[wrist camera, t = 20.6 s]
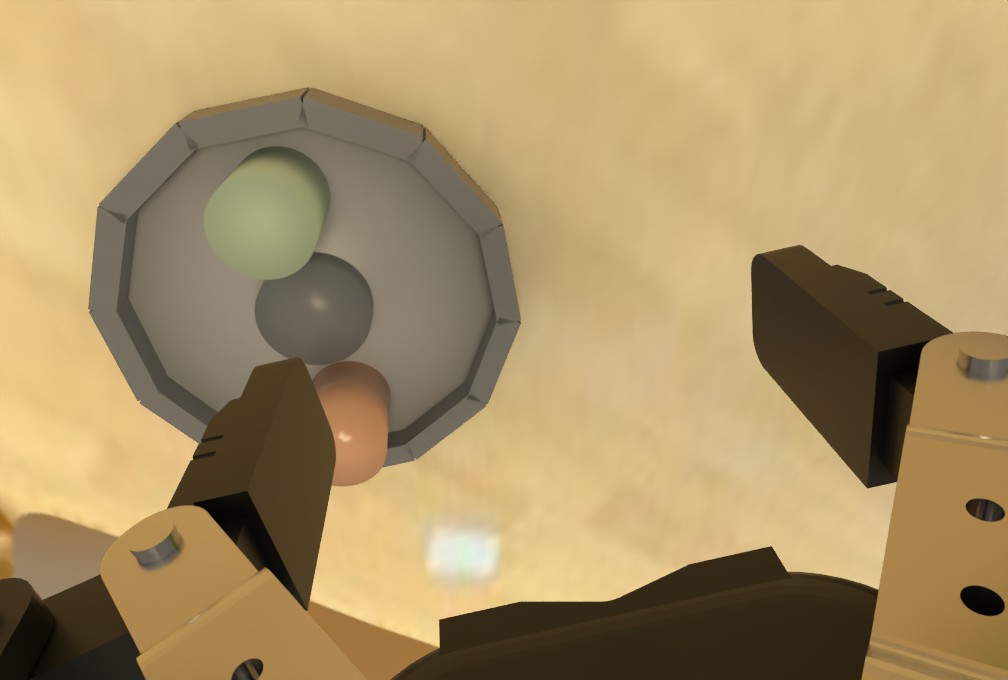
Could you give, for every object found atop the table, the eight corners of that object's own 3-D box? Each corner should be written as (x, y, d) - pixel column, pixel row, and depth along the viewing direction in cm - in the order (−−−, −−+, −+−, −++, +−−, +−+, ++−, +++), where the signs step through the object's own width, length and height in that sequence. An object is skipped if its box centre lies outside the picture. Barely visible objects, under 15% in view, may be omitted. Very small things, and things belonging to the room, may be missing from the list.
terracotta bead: (406, 398, 38) (405, 454, 34) (348, 440, 39) (339, 500, 35) (352, 346, 36) (342, 398, 32) (292, 392, 37) (275, 448, 33)
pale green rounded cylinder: (350, 200, 32) (339, 237, 28) (283, 255, 33) (262, 299, 29) (281, 125, 30) (258, 152, 26) (212, 186, 31) (179, 222, 27)
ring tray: (535, 408, 41) (542, 433, 38) (207, 477, 40) (195, 506, 38) (468, 54, 31) (472, 61, 29) (34, 144, 31) (5, 158, 28)
